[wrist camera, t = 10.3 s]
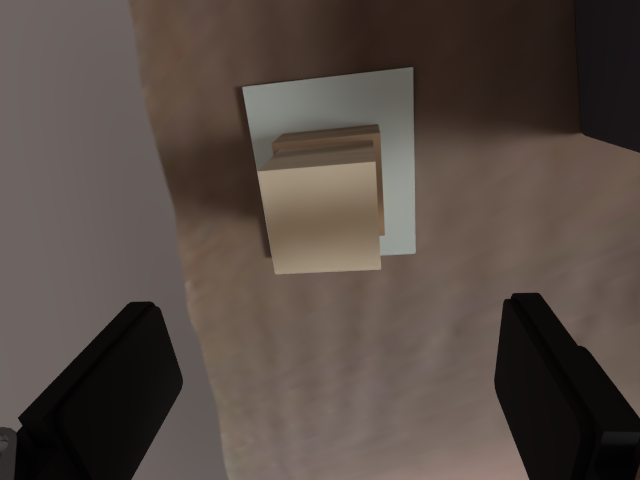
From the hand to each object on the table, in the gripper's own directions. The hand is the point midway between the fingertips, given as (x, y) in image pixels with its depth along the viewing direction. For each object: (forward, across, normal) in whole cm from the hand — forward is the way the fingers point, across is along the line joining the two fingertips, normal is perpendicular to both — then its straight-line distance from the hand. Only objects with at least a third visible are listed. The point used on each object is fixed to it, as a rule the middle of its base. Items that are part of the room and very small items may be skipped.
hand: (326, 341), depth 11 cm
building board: (+21, +1, +1) cm, 21 cm away
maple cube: (+17, +1, +1) cm, 17 cm away
